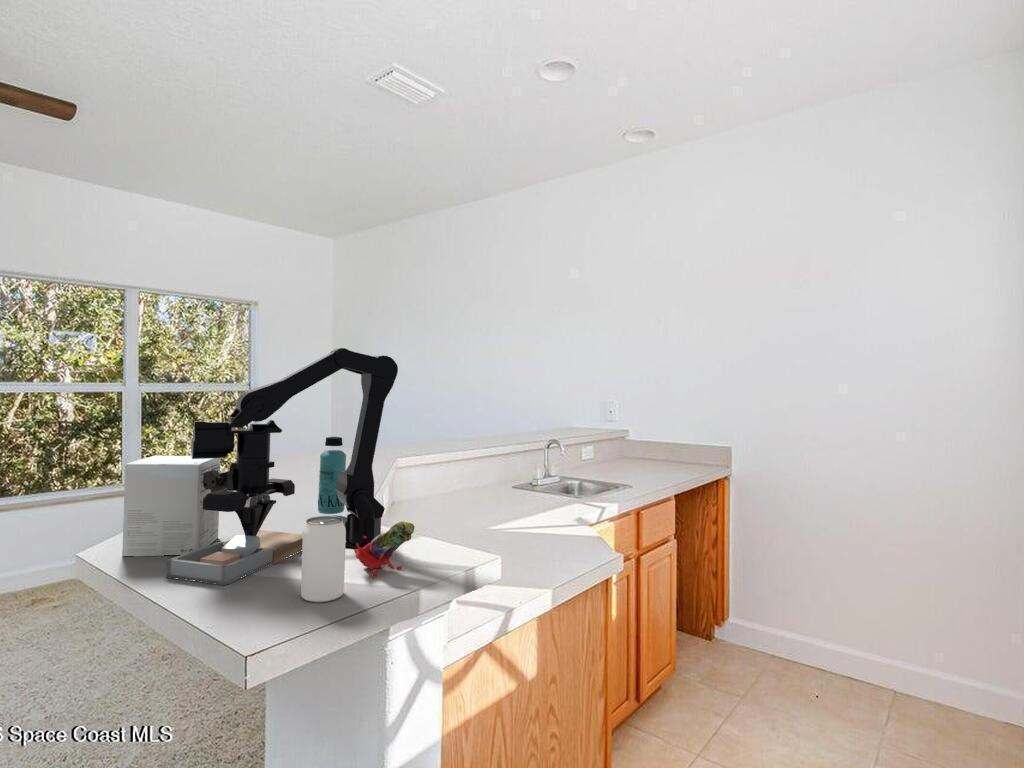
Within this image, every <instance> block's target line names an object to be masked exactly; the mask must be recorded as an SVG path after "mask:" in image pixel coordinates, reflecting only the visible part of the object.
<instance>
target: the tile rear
mask: <svg viewBox="0 0 1024 768" xmlns="http://www.w3.org/2000/svg"><path fill="white" fill-rule="evenodd" d="M244 535H245V534H243V535H241V534H240V535H239V534H238V535H237V534H236V535H235V536H234V537H233V538H232V539H230V540H231V541H229V540H228V541H229V542H228V543H227V544H226V545H225V546H224V547H222V552H228V553H239V554H241V555H240V559H242V558H244V557H247V556H249V555H251V554H253V553H254V552H255V551H256V550H257V549H258V548H259V547H260V546H261V545H260V539H259V536H244Z"/></svg>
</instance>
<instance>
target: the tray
mask: <svg viewBox="0 0 1024 768" xmlns="http://www.w3.org/2000/svg"><path fill="white" fill-rule="evenodd" d="M223 542H224V541H218V542H215V543H214V542H213V543H211V544H210V545H208V546H206V547H203V548H200V549H197V550H194V551H191V552H188V553H186V554H183V555H180V556H173V557H172V558H169V559H167V560H166V578H167V577H170V578H169V579H172V578H178V579H177V580H179V579H187V580H195V581H202V582H207V583H206V584H210V583H216V584H215V585H217V584H222V585H221V586H228V585H229V584H228V583H230V584H232V583H234V582H236V581H238V580H237V579H239V578H241V577H243V576H245V575H247V576H249V575H248V574H250V573H252V572H254V571H256V572H258V571H260V570H262V569H261V568H263V569H265V568H267V567H269V566H271V565H273V564H272V562H273V548H271V547H269V548H266V549H264V550H261V551H259V552H256V553H254V554H251V555H249V556H247V557H244V558H242V559H239V560H237V561H234V562H232V563H229V564H227V565H219V564H211V563H203V562H200V559H201V558H203V557H206V556H208V555H211V554H213V553H216V552H222V547H223ZM270 564H271V565H270ZM268 565H269V566H268ZM266 566H267V567H266ZM264 567H265V568H264ZM259 569H260V570H259ZM257 570H258V571H257ZM254 573H255V572H254ZM252 574H253V573H252ZM250 575H251V574H250ZM245 577H246V576H245ZM243 578H244V577H243ZM241 579H242V578H241ZM187 580H186V581H187ZM235 580H236V581H235ZM239 580H240V579H239ZM233 581H234V582H233ZM202 582H201V583H202ZM231 582H232V583H231ZM227 584H228V585H227Z"/></svg>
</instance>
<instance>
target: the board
mask: <svg viewBox="0 0 1024 768" xmlns="http://www.w3.org/2000/svg"><path fill="white" fill-rule="evenodd" d="M243 535H244V536H245V534H243ZM256 536H259V539H260V545H261V546H260V547H259V548H258V549H257V550H256V551H255V552H254V553H256V552H259V551H261V550H264V549H266V548H269V547H271V548H273V562H272V564H271V565H275V564H277V563H279V562H281V561H283V560H282V559H284V558H286V557H288V558H289V556H290V555H292V556H294V555H296V554H295V553H297V552H299V551H301V550H302V544H303V533H302V534H301V533H293V532H284V531H283V532H282V531H275V530H274V531H273V530H265V529H259V531H258V533H257V535H256ZM231 540H232V539H229V540H226V541H222V542H223V547H224V546H225V545H226V544H227V543H228V542H229V541H231ZM301 552H302V551H301ZM254 553H253V554H254ZM299 553H300V552H299ZM293 554H294V555H293ZM297 554H298V553H297ZM290 557H291V556H290ZM286 559H287V558H286ZM280 560H281V561H280ZM284 560H285V559H284ZM278 561H279V562H278ZM276 562H277V563H276ZM274 563H275V564H274Z"/></svg>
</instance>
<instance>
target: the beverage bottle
mask: <svg viewBox="0 0 1024 768" xmlns="http://www.w3.org/2000/svg"><path fill="white" fill-rule="evenodd" d="M324 444H325V446H326V447H342V446H344V445H343V438H342V437H340V436H328V437H326V438H325V442H324ZM319 459H320V460H319V471H318V477H319V480H318V499H317V510H318V513H319V514H322V515H335V514H342V513H343V512H344V511H345V509H346V507H345V505H344V504H343V503H341V502H340V500H339V499H338V496H337V490H335V487H336V485H337V483H338V472H339V470H341V471H344V472H345V471H346V469H347V466H346V465H347V454H346V453H345V452H344V450H341V449H327V450H326V449H325V450H324V451H323V452H322V453H321V454H320V455H319Z"/></svg>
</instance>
